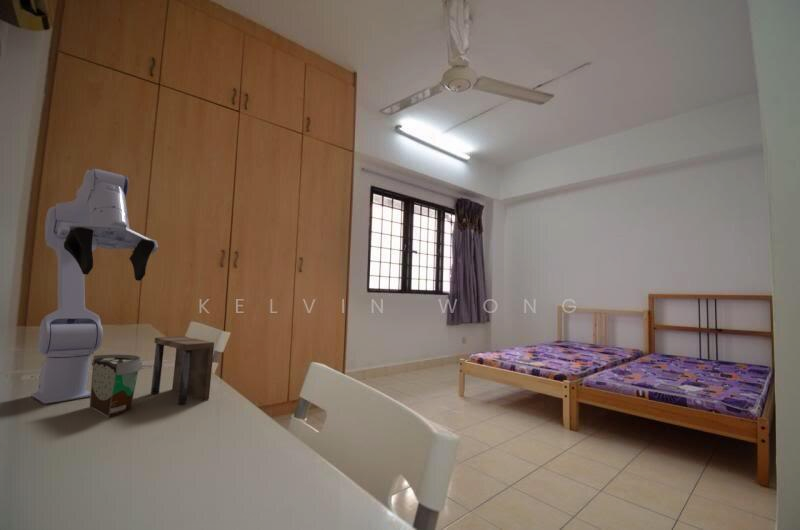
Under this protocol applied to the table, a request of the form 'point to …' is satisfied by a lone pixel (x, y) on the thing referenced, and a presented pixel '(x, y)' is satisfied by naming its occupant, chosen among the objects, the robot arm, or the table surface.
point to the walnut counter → (186, 366)
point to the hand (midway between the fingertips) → (115, 274)
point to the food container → (113, 383)
